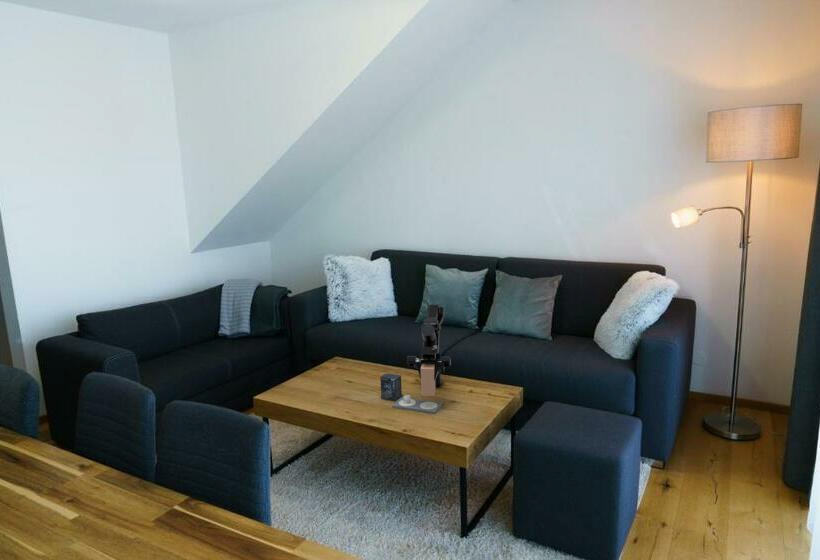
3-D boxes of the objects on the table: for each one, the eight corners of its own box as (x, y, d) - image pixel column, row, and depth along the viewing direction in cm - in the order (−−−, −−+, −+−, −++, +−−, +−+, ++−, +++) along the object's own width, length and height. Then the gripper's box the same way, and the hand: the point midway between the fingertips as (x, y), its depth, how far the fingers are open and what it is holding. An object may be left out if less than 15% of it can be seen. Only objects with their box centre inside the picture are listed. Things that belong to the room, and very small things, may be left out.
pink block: (423, 390, 252) (422, 364, 250) (435, 390, 252) (434, 364, 249) (421, 395, 247) (420, 368, 245) (434, 395, 246) (433, 369, 244)
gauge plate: (401, 399, 261) (401, 390, 260) (443, 404, 253) (443, 396, 252) (392, 407, 252) (391, 399, 251) (435, 413, 244) (434, 405, 243)
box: (381, 398, 262) (379, 376, 260) (387, 394, 267) (386, 372, 265) (395, 401, 259) (394, 379, 257) (402, 397, 263) (401, 375, 261)
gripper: (406, 338, 250) (403, 371, 241) (449, 338, 247) (448, 372, 239) (409, 349, 259) (407, 382, 251) (451, 350, 256) (450, 383, 248)
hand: (427, 379), depth 247 cm, fingers closed on pink block, 5 cm apart
